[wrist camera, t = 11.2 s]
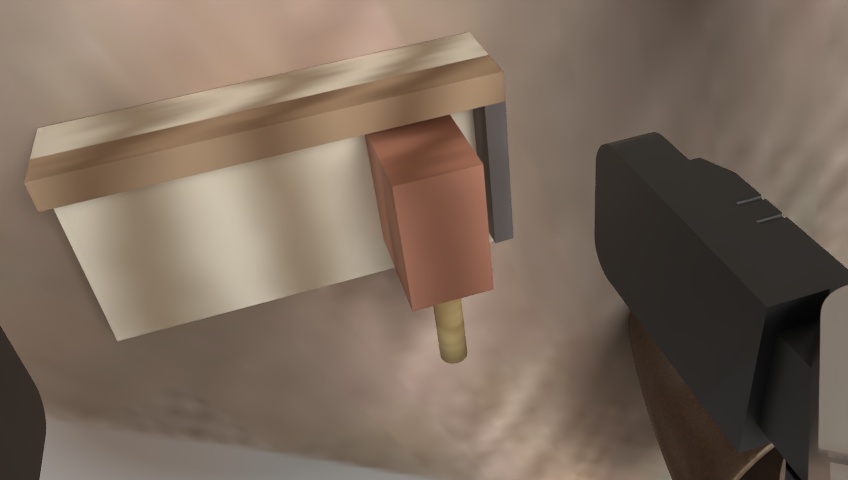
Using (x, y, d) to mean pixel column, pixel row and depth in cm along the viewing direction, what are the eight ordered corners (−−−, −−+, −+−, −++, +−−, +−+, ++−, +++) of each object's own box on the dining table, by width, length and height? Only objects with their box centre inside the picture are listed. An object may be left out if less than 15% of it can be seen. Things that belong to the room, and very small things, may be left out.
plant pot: (687, 184, 50) (867, 357, 37) (811, 267, 57) (995, 433, 45) (537, 351, 55) (651, 554, 42) (670, 406, 62) (800, 591, 50)
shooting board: (468, 32, 40) (503, 71, 36) (484, 210, 46) (514, 260, 43) (37, 128, 37) (23, 182, 33) (119, 304, 43) (116, 367, 39)
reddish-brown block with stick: (442, 103, 38) (483, 164, 34) (463, 291, 46) (499, 362, 41) (362, 122, 38) (392, 186, 33) (396, 309, 45) (424, 384, 40)
